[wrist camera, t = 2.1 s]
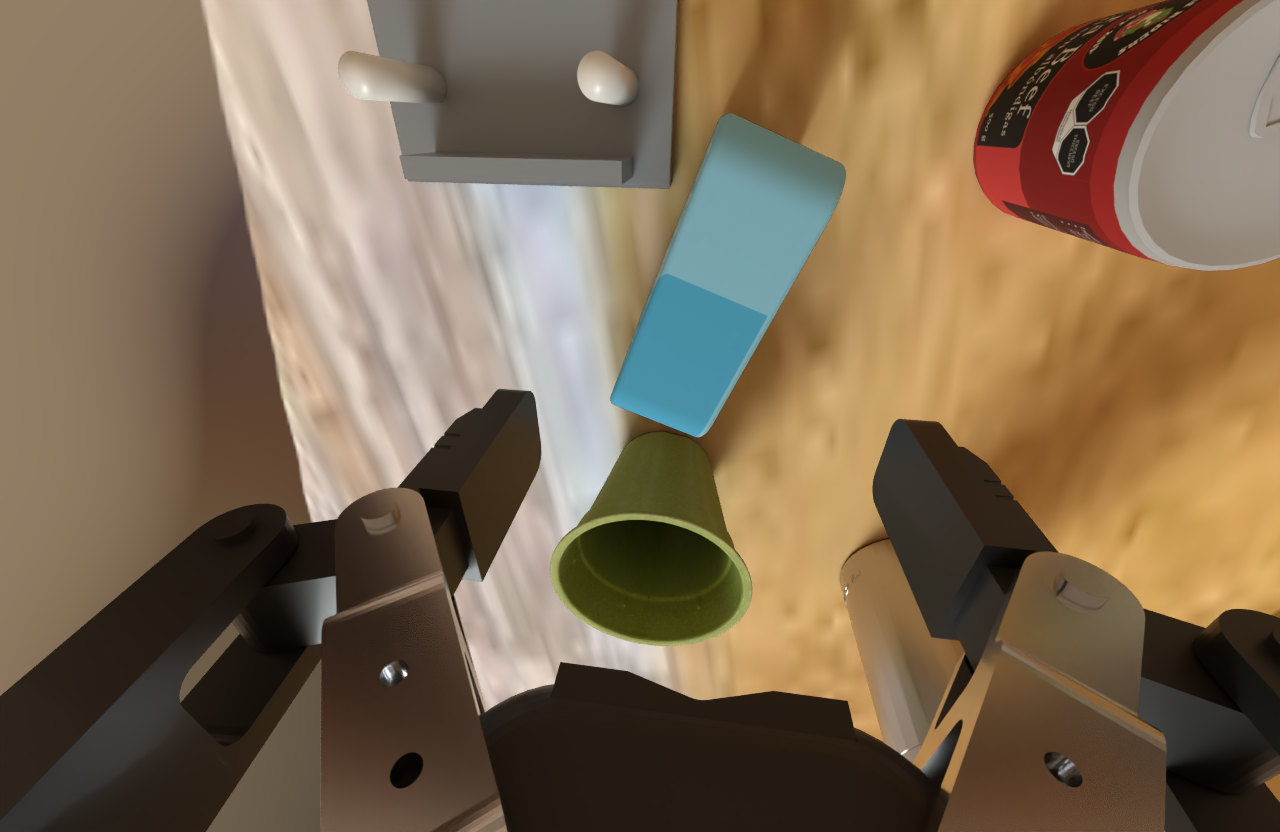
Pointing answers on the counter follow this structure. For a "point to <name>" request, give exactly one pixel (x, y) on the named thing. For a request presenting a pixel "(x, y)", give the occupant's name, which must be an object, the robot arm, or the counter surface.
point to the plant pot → (654, 550)
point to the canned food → (1147, 134)
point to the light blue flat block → (726, 272)
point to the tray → (525, 89)
